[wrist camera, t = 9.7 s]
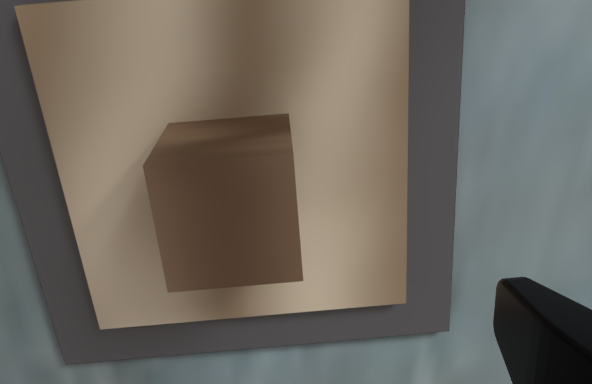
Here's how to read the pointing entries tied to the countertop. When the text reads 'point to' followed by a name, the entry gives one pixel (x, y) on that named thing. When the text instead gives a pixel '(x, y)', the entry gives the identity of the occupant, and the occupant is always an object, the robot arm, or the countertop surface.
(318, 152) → the lid
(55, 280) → the mat
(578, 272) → the countertop surface
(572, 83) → the countertop surface
